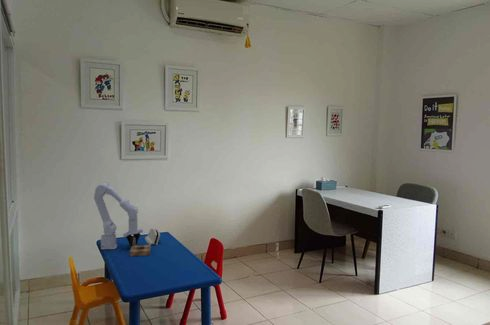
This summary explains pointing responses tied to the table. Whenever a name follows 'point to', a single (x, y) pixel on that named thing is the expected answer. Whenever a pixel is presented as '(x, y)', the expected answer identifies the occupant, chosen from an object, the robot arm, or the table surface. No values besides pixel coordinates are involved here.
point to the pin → (134, 241)
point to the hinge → (153, 237)
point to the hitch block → (140, 250)
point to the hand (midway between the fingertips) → (133, 244)
